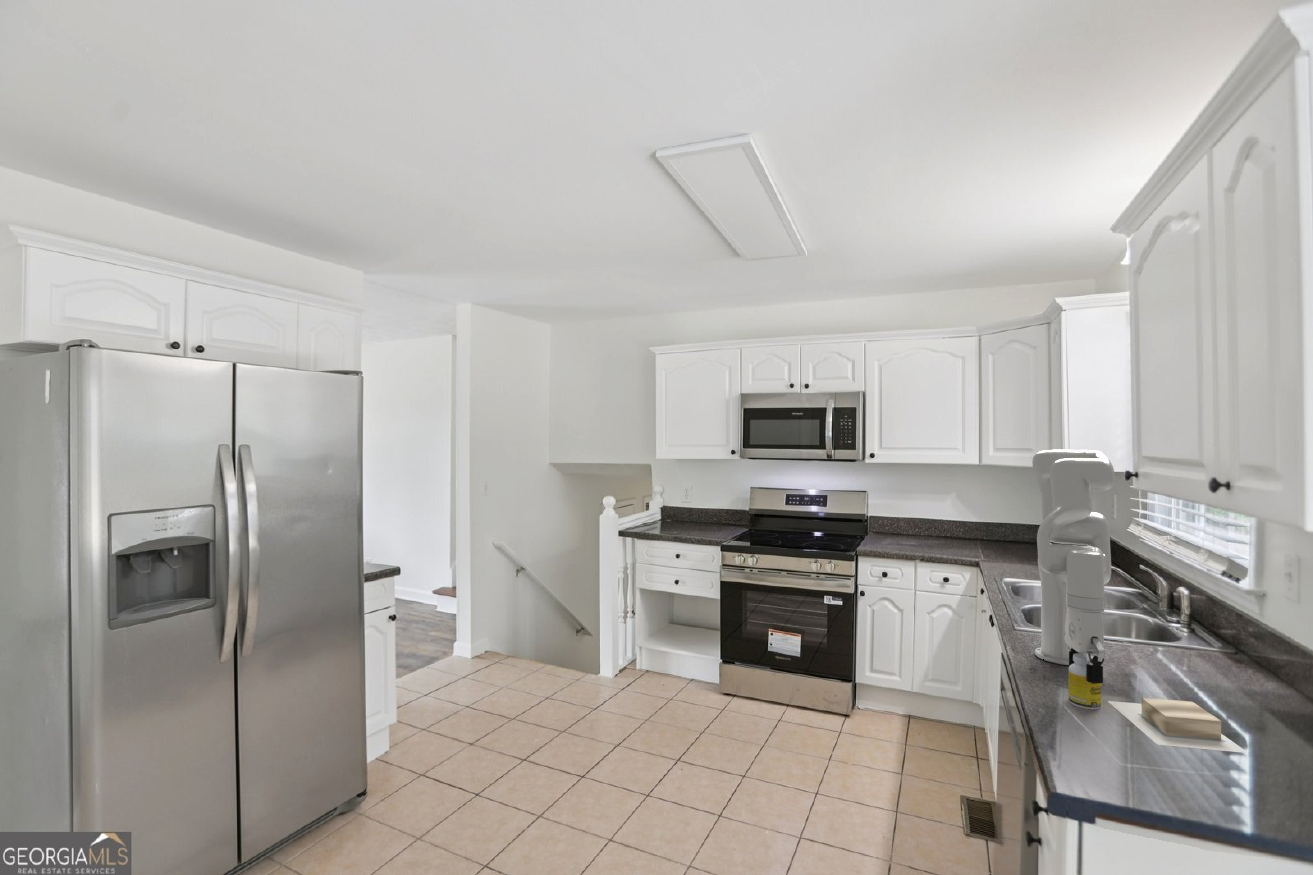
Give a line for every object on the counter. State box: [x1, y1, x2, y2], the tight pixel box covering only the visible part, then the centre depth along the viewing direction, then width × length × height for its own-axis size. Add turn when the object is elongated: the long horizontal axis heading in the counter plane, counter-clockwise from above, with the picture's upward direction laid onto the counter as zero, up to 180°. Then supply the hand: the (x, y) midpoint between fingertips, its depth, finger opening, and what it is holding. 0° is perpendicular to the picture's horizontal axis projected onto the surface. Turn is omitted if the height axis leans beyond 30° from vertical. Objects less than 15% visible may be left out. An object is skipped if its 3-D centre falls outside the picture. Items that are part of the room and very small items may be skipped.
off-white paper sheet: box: [1107, 700, 1249, 754], centre depth 140 cm, size 22×16×1 cm
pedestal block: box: [1141, 697, 1222, 740], centre depth 139 cm, size 10×10×4 cm
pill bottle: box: [1068, 653, 1102, 710], centre depth 151 cm, size 6×6×12 cm
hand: (1085, 675), depth 150 cm, fingers open, 9 cm apart
